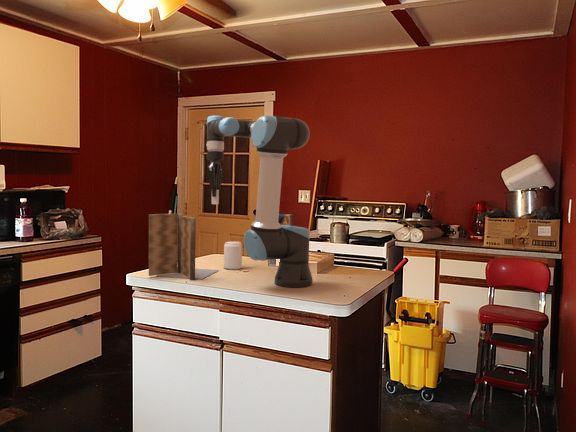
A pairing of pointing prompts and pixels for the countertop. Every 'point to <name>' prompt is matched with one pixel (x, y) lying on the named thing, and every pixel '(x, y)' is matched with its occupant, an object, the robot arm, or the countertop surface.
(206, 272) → the card
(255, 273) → the countertop surface
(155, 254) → the brown wooden board
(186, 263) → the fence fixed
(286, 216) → the juice carton
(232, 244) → the beverage can
